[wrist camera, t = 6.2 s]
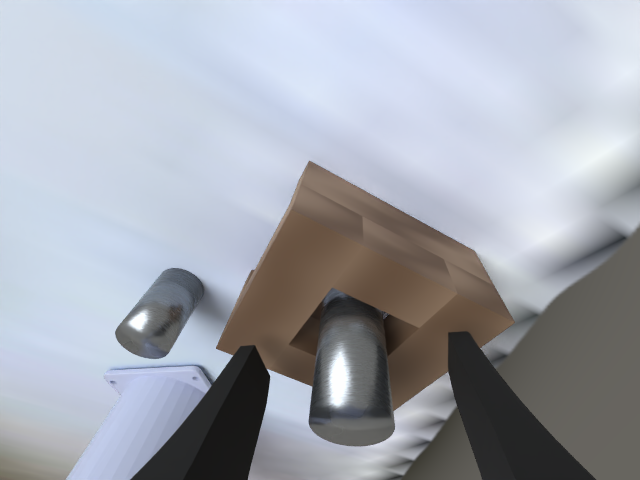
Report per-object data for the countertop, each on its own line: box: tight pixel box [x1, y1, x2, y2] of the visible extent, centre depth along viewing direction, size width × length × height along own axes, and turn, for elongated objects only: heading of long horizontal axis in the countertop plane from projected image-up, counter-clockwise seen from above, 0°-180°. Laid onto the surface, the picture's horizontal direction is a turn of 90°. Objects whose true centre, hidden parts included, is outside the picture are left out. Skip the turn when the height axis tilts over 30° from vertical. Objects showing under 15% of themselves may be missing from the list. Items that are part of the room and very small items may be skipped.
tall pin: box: [309, 288, 395, 446], centre depth 13 cm, size 3×3×8 cm
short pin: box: [115, 268, 204, 359], centre depth 16 cm, size 3×3×4 cm
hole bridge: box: [216, 161, 515, 411], centre depth 14 cm, size 9×8×4 cm
